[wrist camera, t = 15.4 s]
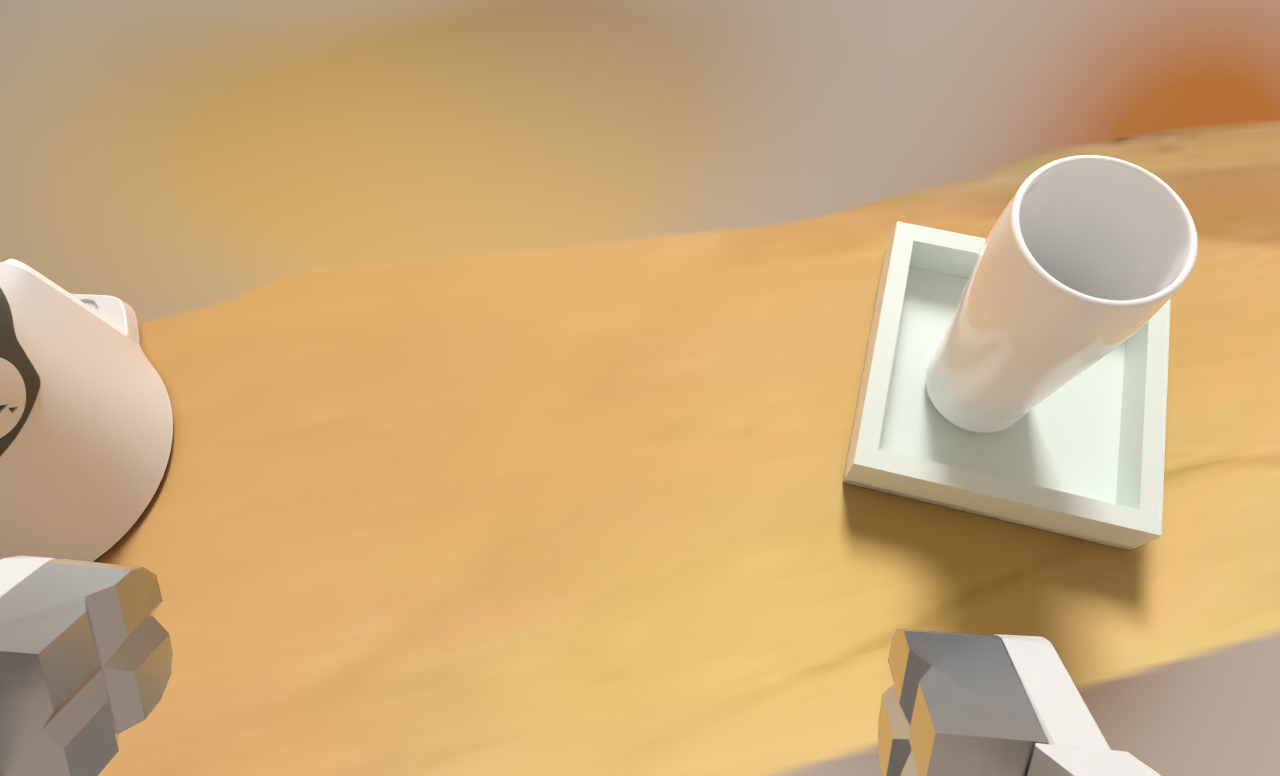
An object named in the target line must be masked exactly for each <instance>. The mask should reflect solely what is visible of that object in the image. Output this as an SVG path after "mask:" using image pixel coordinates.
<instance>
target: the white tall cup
mask: <svg viewBox="0 0 1280 776" xmlns="http://www.w3.org/2000/svg"><path fill="white" fill-rule="evenodd" d="M1197 251H1198V239H1197V232H1196V228H1195V225H1194V222H1193V219H1192V217H1191V215H1190V213H1189V211H1188V209H1187V207H1186V206H1185V204H1184V203H1183V201H1182V200H1181V199H1180V197H1179V196H1178V195H1177V194H1176V193H1175V192H1174V191H1173V190H1172V189H1171V188H1170V187H1169V186H1168V185H1167V184H1166V183H1165V182H1163V181H1162V180H1161V179H1160V178H1158V177H1157V176H1155V175H1154V174H1152V173H1150V172H1149V171H1147V170H1145V169H1143V168H1141V167H1139V166H1137V165H1135V164H1132V163H1130V162H1127V161H1124V160H1120V159H1116V158H1112V157H1106V156H1098V155H1079V156H1071V157H1066V158H1062V159H1059V160H1056V161H1053V162H1051V163H1048V164H1046V165H1044V166H1043V167H1041V168H1039V169H1038V170H1036V171H1035V172H1034V173H1032V174H1031V175H1030V176H1029V177H1028V178H1027V179H1026V180H1025V181H1024V182H1023V184H1022V185H1021V186H1020V188H1019V189H1018V191H1017V192H1016V194H1015V195H1014V197H1013V198H1012V199H1011V201H1010V202H1009V204H1008V205H1007V207H1006V208H1005V210H1004V211H1003V212H1002V214H1001V215H1000V217H999V219H998V220H997V222H996V223H995V225H994V227H993V228H992V230H991V232H990V233H989V235H988V237H987V239H986V241H985V243H984V244H983V246H982V248H981V250H980V252H979V254H978V256H977V259H976V261H975V263H974V265H973V268H972V270H971V272H970V275H969V277H968V279H967V282H966V284H965V287H964V289H963V291H962V294H961V296H960V299H959V301H958V303H957V306H956V308H955V310H954V313H953V315H952V317H951V320H950V322H949V324H948V327H947V329H946V331H945V334H944V336H943V338H942V340H941V343H940V345H939V347H938V348H937V350H936V351H935V353H934V355H933V356H932V358H931V360H930V362H929V365H928V368H927V372H926V387H927V392H928V395H929V397H930V400H931V402H932V404H933V405H934V407H935V408H936V410H937V411H938V412H939V413H940V414H941V415H942V416H943V417H944V418H945V419H946V420H947V421H949V422H950V423H952V424H953V425H955V426H957V427H959V428H962V429H964V430H967V431H971V432H976V433H993V432H998V431H1002V430H1004V429H1007V428H1009V427H1011V426H1013V425H1014V424H1016V423H1017V422H1018V421H1020V420H1021V419H1022V418H1023V417H1024V416H1025V415H1026V414H1027V413H1028V412H1029V411H1030V410H1031V409H1032V408H1034V407H1035V406H1036V405H1038V404H1039V403H1041V402H1042V401H1043V400H1045V399H1046V398H1047V397H1049V396H1050V395H1052V394H1053V393H1054V392H1056V391H1057V390H1058V389H1060V388H1061V387H1063V386H1064V385H1066V384H1067V383H1068V382H1070V381H1071V380H1073V379H1074V378H1075V377H1077V376H1078V375H1080V374H1081V373H1082V372H1084V371H1085V370H1087V369H1088V368H1090V367H1091V366H1092V365H1094V364H1095V363H1097V362H1098V361H1099V360H1101V359H1102V358H1104V357H1105V356H1106V355H1108V354H1109V353H1111V352H1112V351H1113V350H1115V349H1116V348H1117V347H1118V346H1120V345H1121V344H1122V343H1124V342H1125V341H1126V340H1127V339H1128V338H1130V337H1131V336H1132V335H1133V334H1134V333H1136V332H1137V331H1138V330H1139V329H1140V328H1141V327H1142V326H1143V325H1144V324H1145V323H1146V322H1148V321H1149V320H1150V319H1151V318H1152V317H1153V316H1154V315H1155V314H1156V313H1157V312H1158V311H1159V310H1160V308H1161V307H1162V306H1163V305H1164V304H1165V303H1166V302H1167V301H1168V300H1169V299H1170V298H1171V297H1172V296H1173V294H1174V293H1175V292H1176V291H1177V290H1178V289H1179V288H1180V287H1181V286H1182V285H1183V284H1184V282H1185V281H1186V280H1187V279H1188V277H1189V275H1190V273H1191V272H1192V270H1193V267H1194V265H1195V261H1196V258H1197Z"/></svg>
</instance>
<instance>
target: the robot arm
mask: <svg viewBox="0 0 1280 776" xmlns="http://www.w3.org/2000/svg"><path fill="white" fill-rule="evenodd" d="M172 437H173V416H172V408H171V403H170V399H169V396H168V393H167V390H166V388H165V385H164V383H163V381H162V379H161V378H160V376H159V374H158V373H157V371H156V370H155V369H154V367H153V366H152V365H151V363H150V362H149V361H148V359H147V358H146V356H145V355H144V353H143V351H142V349H141V347H140V339H139V330H138V323H137V318H136V315H135V312H134V310H133V309H132V307H131V306H130V305H128V304H127V303H125V302H124V301H122V300H120V299H119V298H117V297H114V296H109V295H85V294H70V293H68V292H67V291H65V290H64V289H62V288H61V287H59V286H58V285H56V284H55V283H53V282H52V281H50V280H49V279H47V278H46V277H44V276H43V275H41V274H40V273H38V272H37V271H35V270H34V269H32V268H31V267H29V266H28V265H26V264H24V263H22V262H20V261H17V260H14V259H9V260H7V261H5V262H0V776H98V775H99V773H100V772H101V771H102V770H103V769H104V768H105V766H106V765H107V764H108V763H109V762H110V760H111V759H112V758H113V757H114V756H115V755H116V753H117V752H118V751H119V747H118V734H119V733H121V732H123V731H124V730H126V729H128V728H130V727H132V726H134V725H136V724H138V723H140V722H141V721H143V720H145V719H146V718H147V716H148V715H149V714H150V713H151V711H152V710H153V709H154V708H155V706H156V705H157V704H158V703H159V701H160V700H161V698H162V695H163V693H164V690H165V688H166V685H167V683H168V680H169V677H170V675H171V666H172V647H171V641H170V636H169V633H168V632H167V631H166V630H165V629H164V628H163V627H162V626H161V625H160V623H159V622H158V621H157V620H156V619H155V618H154V617H153V615H154V613H155V611H156V610H157V608H158V607H159V605H160V604H161V602H162V601H163V600H162V596H161V592H160V588H159V584H158V580H157V576H156V575H155V574H154V573H152V572H151V571H149V570H148V569H146V568H144V567H136V566H127V565H117V564H107V563H98V562H93V561H94V560H96V559H97V558H98V557H100V556H101V555H102V554H104V553H105V552H106V551H107V550H109V549H110V548H111V547H112V546H113V545H114V544H115V543H117V542H118V541H119V540H120V539H121V538H122V537H123V536H124V535H125V534H126V533H127V531H128V530H129V529H130V528H131V527H132V526H133V525H134V523H135V522H136V521H137V520H138V518H139V517H140V516H141V514H142V513H143V512H144V510H145V509H146V507H147V506H148V504H149V503H150V501H151V499H152V498H153V496H154V494H155V492H156V490H157V488H158V486H159V484H160V482H161V480H162V477H163V475H164V472H165V469H166V466H167V463H168V460H169V455H170V451H171V445H172ZM888 662H889V666H890V670H891V674H892V677H893V681H894V685H893V686H891V687H890V688H889V689H888V690H887V691H886V692H885V693H884V694H882V700H881V707H880V714H879V726H878V751H879V761H880V769H881V773H882V776H1161V775H1159V774H1158V773H1157V772H1155V771H1154V770H1152V769H1151V768H1149V767H1148V766H1147V765H1145V764H1144V763H1142V762H1141V761H1139V760H1138V759H1137V758H1135V757H1134V756H1132V755H1131V754H1129V753H1128V752H1125V751H1115V750H1111V749H1110V747H1109V745H1108V744H1107V742H1106V740H1105V738H1104V737H1103V735H1102V733H1101V731H1100V729H1099V728H1098V726H1097V724H1096V722H1095V720H1094V719H1093V717H1092V715H1091V713H1090V712H1089V710H1088V708H1087V706H1086V704H1085V702H1084V701H1083V699H1082V697H1081V695H1080V693H1079V692H1078V690H1077V688H1076V686H1075V685H1074V683H1073V681H1072V679H1071V677H1070V676H1069V674H1068V672H1067V670H1066V668H1065V667H1064V665H1063V663H1062V661H1061V659H1060V658H1059V656H1058V654H1057V652H1056V651H1055V649H1054V647H1053V645H1052V643H1051V642H1050V641H1048V640H1047V639H1045V638H1044V637H1040V636H1020V635H1000V634H994V635H979V634H964V633H950V632H936V631H922V630H908V629H896V631H895V634H894V636H893V639H892V642H891V648H890V653H889V659H888Z"/></svg>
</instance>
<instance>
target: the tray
mask: <svg viewBox="0 0 1280 776" xmlns="http://www.w3.org/2000/svg"><path fill="white" fill-rule="evenodd" d="M985 241H986V239H985V238H980V237H975V236H970V235H965V234H960V233H955V232H949V231H944V230H939V229H934V228H929V227H924V226H919V225H914V224H909V223H904V222H899V221H897V223H896V225H895V228H894V230H893V233H892V235H891V238H890V240H889V242H888V245H887V247H886V250H885V253H884V259H883V264H882V270H881V275H880V281H879V286H878V291H877V297H876V302H875V308H874V313H873V319H872V324H871V330H870V335H869V341H868V346H867V351H866V357H865V362H864V368H863V373H862V379H861V384H860V390H859V395H858V401H857V406H856V412H855V417H854V422H853V428H852V433H851V439H850V444H849V450H848V455H847V461H846V466H845V472H844V477H843V483H848V484H852V485H856V486H860V487H864V488H869V489H873V490H877V491H881V492H886V493H890V494H894V495H898V496H902V497H907V498H911V499H915V500H919V501H923V502H928V503H932V504H936V505H940V506H944V507H949V508H953V509H957V510H961V511H965V512H970V513H974V514H978V515H982V516H987V517H991V518H995V519H999V520H1003V521H1008V522H1012V523H1016V524H1020V525H1024V526H1029V527H1033V528H1037V529H1041V530H1045V531H1050V532H1054V533H1058V534H1062V535H1066V536H1071V537H1075V538H1079V539H1083V540H1087V541H1092V542H1096V543H1100V544H1104V545H1109V546H1113V547H1117V548H1121V549H1125V550H1132V549H1135V548H1137V547H1139V546H1141V545H1143V544H1145V543H1147V542H1149V541H1151V540H1153V539H1156V538H1158V537H1160V536H1161V535H1162V509H1163V483H1164V456H1165V430H1166V403H1167V377H1168V350H1169V324H1170V299H1169V300H1168V301H1167V302H1166V303H1165V304H1164V305H1163V306H1162V307H1161V308H1160V310H1159V311H1158V312H1157V313H1156V314H1155V315H1154V316H1153V317H1152V318H1151V319H1150V320H1149V321H1148V322H1146V323H1145V324H1144V325H1143V326H1142V327H1141V328H1140V329H1139V330H1138V331H1137V332H1136V333H1134V334H1133V335H1132V336H1131V337H1130V338H1128V339H1127V340H1126V341H1125V342H1124V343H1122V344H1121V345H1120V346H1118V347H1117V348H1116V349H1115V350H1113V351H1112V352H1111V353H1109V354H1108V355H1106V356H1105V357H1104V358H1102V359H1101V360H1099V361H1098V362H1097V363H1095V364H1094V365H1092V366H1091V367H1090V368H1088V369H1087V370H1085V371H1084V372H1082V373H1081V374H1080V375H1078V376H1077V377H1075V378H1074V379H1073V380H1071V381H1070V382H1068V383H1067V384H1066V385H1064V386H1063V387H1061V388H1060V389H1058V390H1057V391H1056V392H1054V393H1053V394H1052V395H1050V396H1049V397H1047V398H1046V399H1045V400H1043V401H1042V402H1041V403H1039V404H1038V405H1036V406H1035V407H1034V408H1032V409H1031V410H1030V411H1029V412H1028V413H1027V414H1026V415H1025V416H1024V417H1023V418H1022V419H1021V420H1020V421H1018V422H1017V423H1016V424H1014V425H1013V426H1011V427H1009V428H1007V429H1004V430H1002V431H998V432H993V433H976V432H971V431H967V430H964V429H962V428H959V427H957V426H955V425H953V424H952V423H950V422H949V421H947V420H946V419H945V418H944V417H943V416H942V415H941V414H940V413H939V412H938V411H937V410H936V408H935V407H934V405H933V404H932V402H931V400H930V397H929V395H928V392H927V387H926V372H927V368H928V365H929V362H930V360H931V358H932V356H933V355H934V353H935V351H936V350H937V348H938V347H939V345H940V343H941V340H942V338H943V336H944V334H945V331H946V329H947V327H948V324H949V322H950V320H951V317H952V315H953V313H954V310H955V308H956V306H957V303H958V301H959V299H960V296H961V294H962V291H963V289H964V287H965V284H966V282H967V279H968V277H969V275H970V272H971V270H972V268H973V265H974V263H975V261H976V259H977V256H978V254H979V252H980V250H981V248H982V246H983V244H984V243H985Z"/></svg>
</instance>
